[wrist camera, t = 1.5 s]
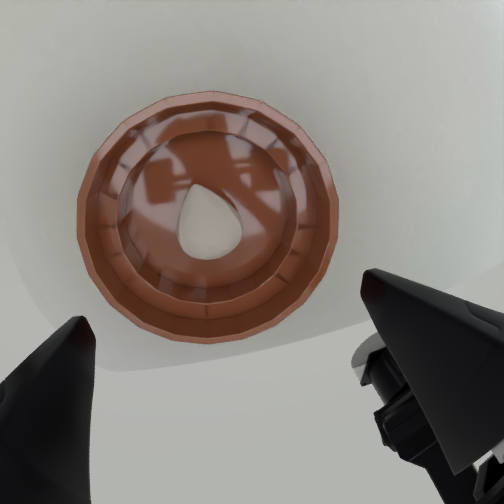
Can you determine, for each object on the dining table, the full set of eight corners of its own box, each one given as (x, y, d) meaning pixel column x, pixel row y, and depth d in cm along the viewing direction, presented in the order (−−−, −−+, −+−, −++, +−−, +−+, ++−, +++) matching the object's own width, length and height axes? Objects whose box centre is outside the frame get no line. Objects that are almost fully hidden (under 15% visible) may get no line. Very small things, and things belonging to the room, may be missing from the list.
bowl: (311, 289, 23) (331, 322, 19) (132, 316, 21) (121, 353, 17) (306, 97, 16) (335, 88, 12) (86, 128, 15) (55, 128, 11)
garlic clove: (188, 257, 19) (187, 273, 17) (164, 191, 17) (158, 200, 15) (246, 238, 20) (252, 253, 17) (226, 170, 17) (229, 176, 15)
